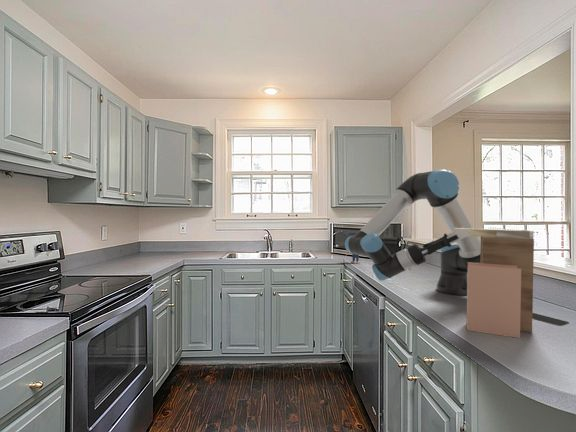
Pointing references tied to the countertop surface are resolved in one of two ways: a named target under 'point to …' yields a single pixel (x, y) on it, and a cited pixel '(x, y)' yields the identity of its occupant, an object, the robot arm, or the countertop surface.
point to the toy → (354, 257)
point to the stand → (515, 252)
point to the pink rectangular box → (494, 299)
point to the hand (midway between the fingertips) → (466, 230)
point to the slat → (480, 232)
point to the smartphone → (548, 319)
